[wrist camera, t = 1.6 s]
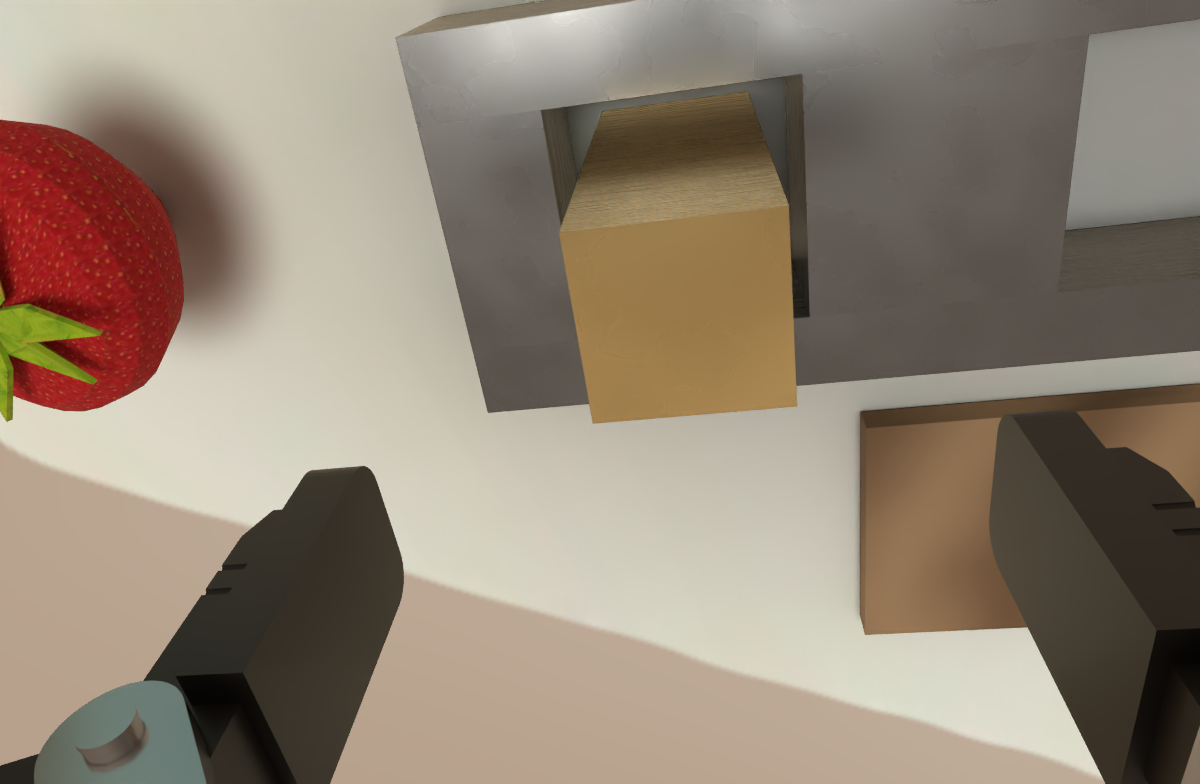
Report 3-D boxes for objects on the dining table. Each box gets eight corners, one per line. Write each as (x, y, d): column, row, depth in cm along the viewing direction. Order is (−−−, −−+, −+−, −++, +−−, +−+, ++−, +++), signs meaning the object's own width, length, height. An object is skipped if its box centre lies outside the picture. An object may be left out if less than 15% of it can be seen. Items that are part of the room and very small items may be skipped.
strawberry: (198, 63, 24) (-73, 154, 15) (287, 307, 28) (108, 492, 19) (12, 93, 25) (-346, 196, 16) (122, 326, 28) (-121, 512, 20)
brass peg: (747, 91, 23) (789, 205, 14) (755, 231, 25) (796, 406, 16) (602, 111, 24) (558, 232, 15) (621, 247, 26) (592, 423, 17)
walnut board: (1263, 378, 26) (1284, 395, 25) (1205, 597, 30) (1221, 618, 30) (860, 411, 28) (866, 428, 27) (860, 615, 32) (865, 634, 31)
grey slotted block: (1448, -141, 19) (1616, -151, 16) (1330, 268, 24) (1438, 329, 21) (438, 17, 23) (395, 37, 19) (511, 348, 28) (487, 412, 24)
